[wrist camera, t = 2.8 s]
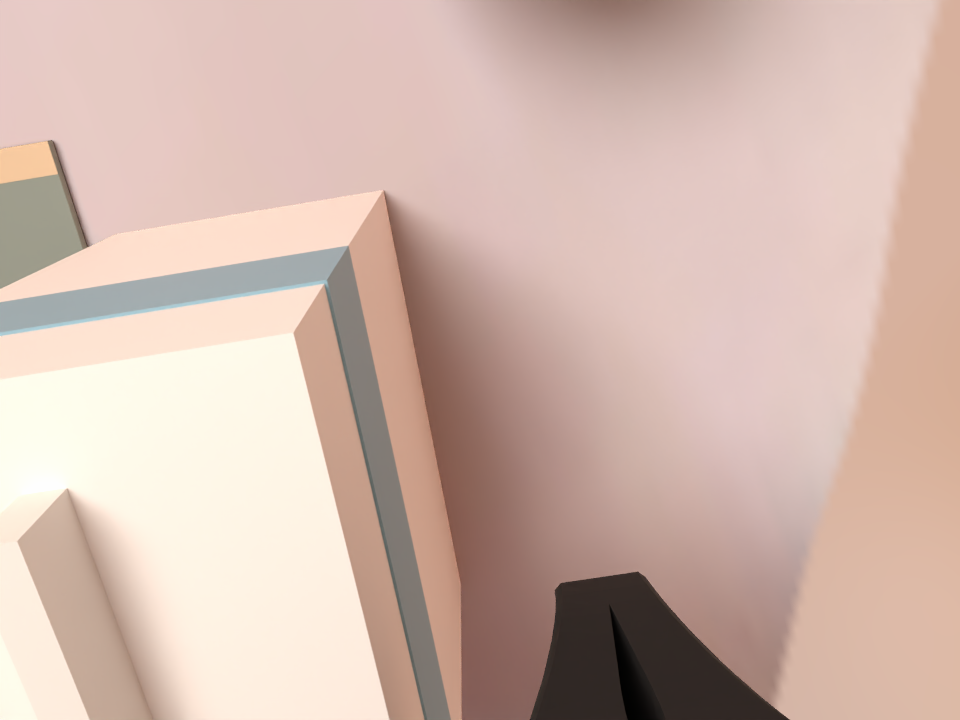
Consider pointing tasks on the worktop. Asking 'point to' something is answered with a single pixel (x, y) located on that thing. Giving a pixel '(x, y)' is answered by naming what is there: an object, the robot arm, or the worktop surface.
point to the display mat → (34, 212)
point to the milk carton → (223, 480)
